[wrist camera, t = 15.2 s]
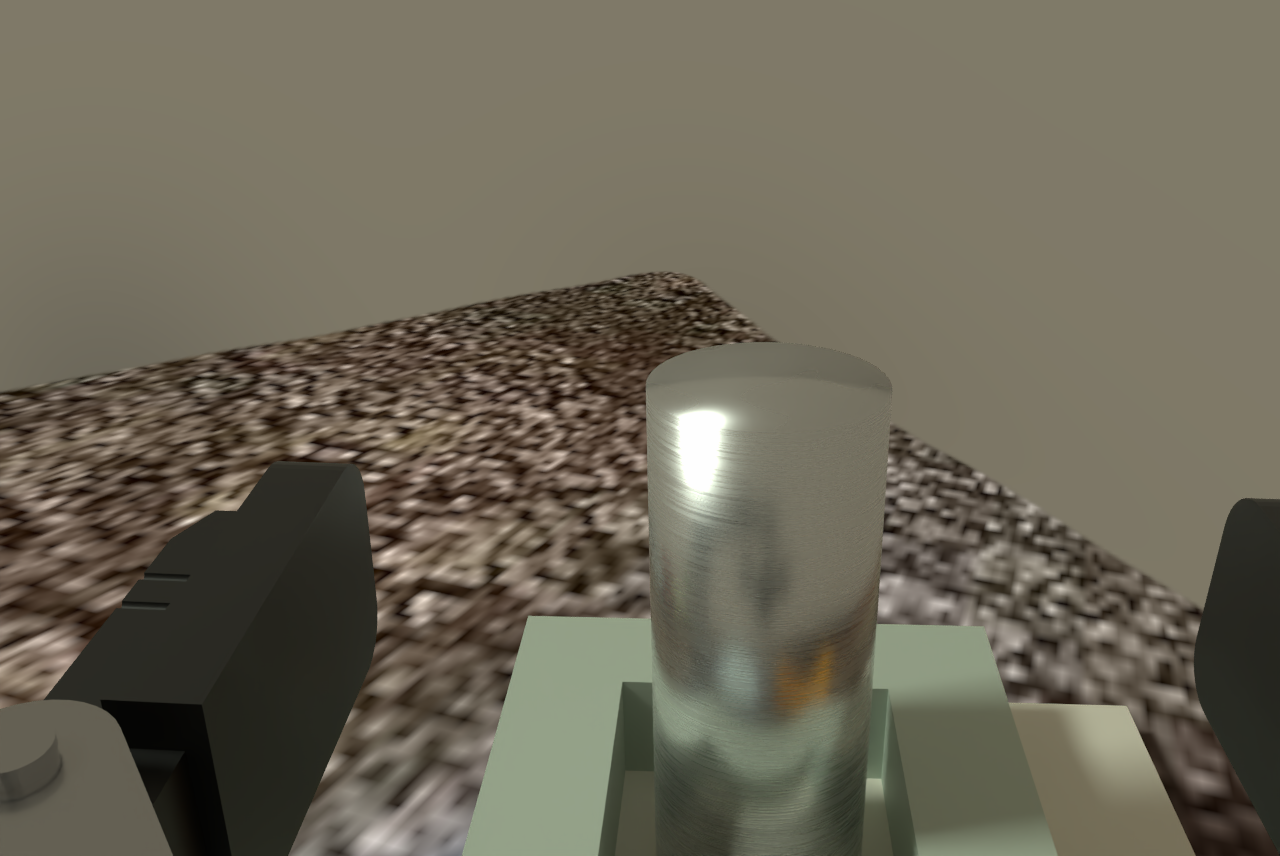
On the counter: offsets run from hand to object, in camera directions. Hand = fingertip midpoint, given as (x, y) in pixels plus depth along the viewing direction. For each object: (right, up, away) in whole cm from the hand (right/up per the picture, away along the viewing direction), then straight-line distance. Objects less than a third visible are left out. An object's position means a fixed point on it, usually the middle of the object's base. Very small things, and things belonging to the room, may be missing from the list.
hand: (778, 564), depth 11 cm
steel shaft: (+2, -10, +19) cm, 21 cm away
